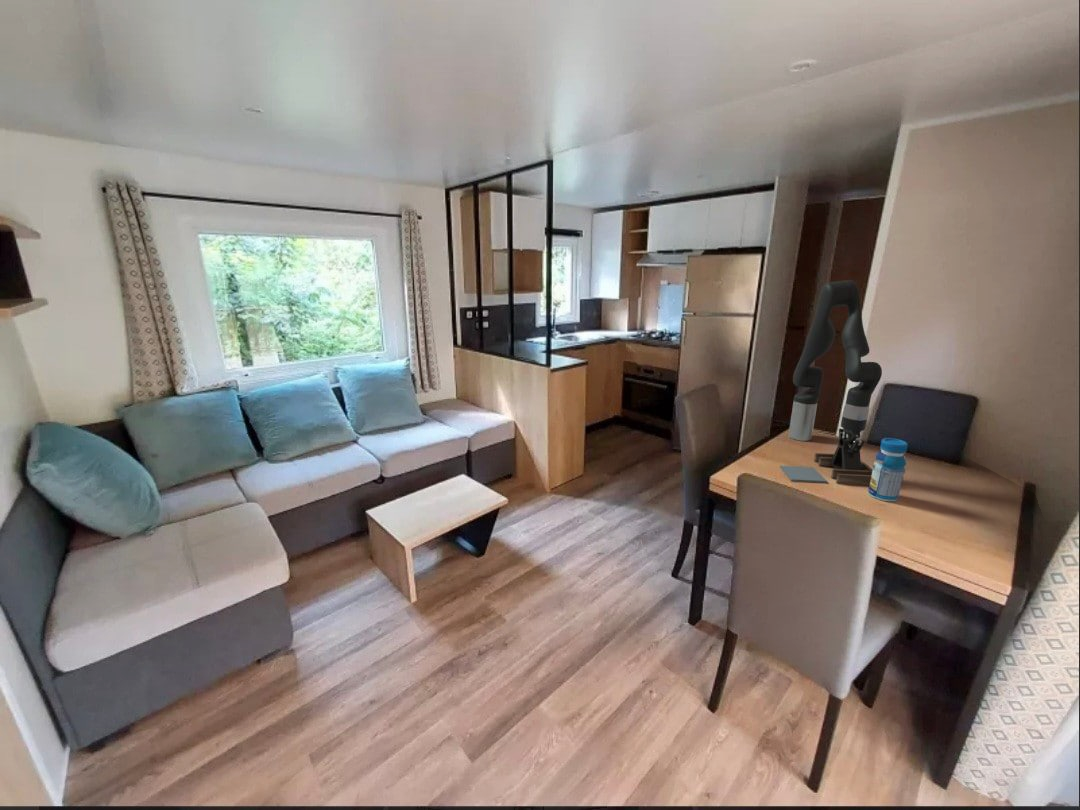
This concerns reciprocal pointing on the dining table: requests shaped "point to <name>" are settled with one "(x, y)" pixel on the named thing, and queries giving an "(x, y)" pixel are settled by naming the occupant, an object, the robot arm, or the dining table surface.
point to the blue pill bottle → (888, 470)
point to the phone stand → (845, 457)
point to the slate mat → (803, 474)
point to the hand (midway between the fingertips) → (846, 459)
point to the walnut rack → (846, 471)
